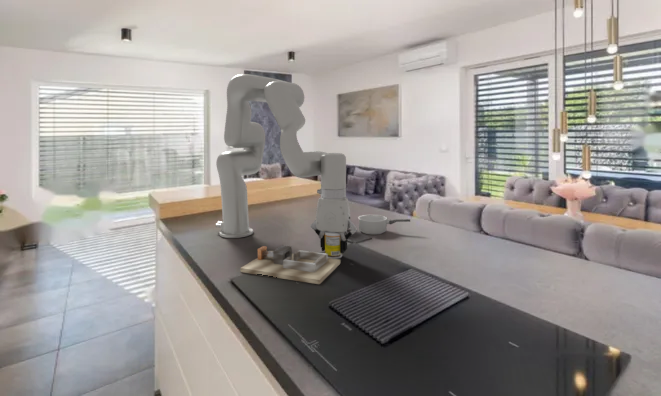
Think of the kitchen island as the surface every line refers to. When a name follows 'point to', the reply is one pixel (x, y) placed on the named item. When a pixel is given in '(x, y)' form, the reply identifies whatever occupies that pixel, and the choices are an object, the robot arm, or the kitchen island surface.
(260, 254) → the lock pin
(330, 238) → the supplement bottle
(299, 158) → the robot arm
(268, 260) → the dock
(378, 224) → the saucepan
